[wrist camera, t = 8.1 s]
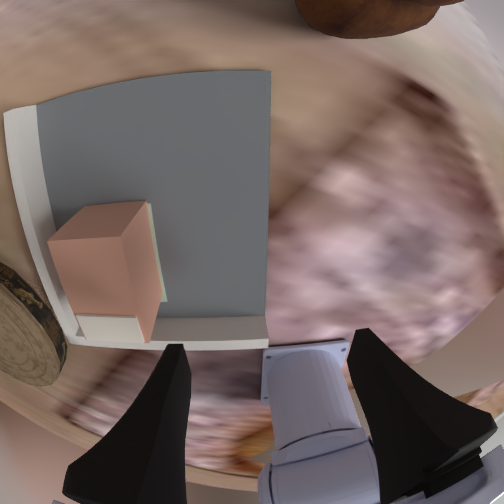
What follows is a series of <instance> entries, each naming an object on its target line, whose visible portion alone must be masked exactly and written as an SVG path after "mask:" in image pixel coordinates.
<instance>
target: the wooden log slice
mask: <svg viewBox="0 0 504 504" xmlns="http://www.w3.org/2000/svg"><path fill="white" fill-rule="evenodd" d="M66 352H67V344H66V341H65V338H64V334H63V331H62V328H61V327H60V325H59V323H58V322H57V320H56V318H55V316H54V315H53V313H52V311H51V309H50V308H49V307H48V306H47V304H46V303H45V302H44V301H43V299H42V298H41V297H40V296H39V294H38V293H37V292H36V291H35V289H34V288H33V287H32V286H31V285H30V284H28V283H27V282H26V281H25V280H24V279H23V278H22V277H21V276H20V275H19V274H18V273H17V272H16V271H14V270H13V269H11V268H10V267H8V266H7V265H5V264H3V263H2V262H0V370H2V371H4V372H5V373H7V374H8V375H10V376H11V377H13V378H15V379H18V380H20V381H22V382H25V383H27V384H31V385H37V386H46V385H51V384H53V382H54V381H55V380H56V379H57V378H58V376H59V374H60V371H61V369H62V367H63V364H64V362H65V360H66Z"/></svg>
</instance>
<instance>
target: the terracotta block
mask: <svg viewBox="0 0 504 504" xmlns="http://www.w3.org/2000/svg"><path fill="white" fill-rule="evenodd" d="M47 243H48V246H49V249H50V253H51V256H52V259H53V262H54V265H55V268H56V270H57V273H58V276H59V279H60V281H61V284H62V287H63V289H64V292H65V294H66V297H67V299H68V302H69V304H70V306H71V309H72V311H73V313H74V316H75V318H76V320H77V322H78V325H79V327H80V329H81V331H82V333H83V335H84V337H85V339H86V340H95V341H109V342H126V343H150V339H151V335H152V331H153V327H154V323H155V320H156V316H157V312H158V308H159V305H160V301H161V298H162V294H163V292H162V287H161V282H160V277H159V272H158V267H157V262H156V256H155V251H154V245H153V239H152V233H151V227H150V220H149V213H148V206H147V200H144V201H132V202H120V203H110V204H100V205H90V206H84V207H83V208H82V209H81V210H80V211H79V212H77V213H76V214H75V215H74V216H73V217H72V218H71V219H70V220H69V221H68V222H66V223H65V224H64V225H63V226H62V227H61V228H60V229H59V230H58V231H57V232H56V233H55V234H54V235H53V236H52V237H51V238H50V239H49V240H48V241H47Z"/></svg>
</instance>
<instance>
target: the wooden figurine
mask: <svg viewBox="0 0 504 504" xmlns="http://www.w3.org/2000/svg"><path fill="white" fill-rule="evenodd" d="M462 1H464V0H295V3H296V6H297V8H298V11H299V13H300V14H301V15H302V16H303V17H304V19H305V20H306V21H307V22H308V24H309V25H311V26H312V27H314V28H316V29H317V30H319V31H321V32H322V33H324V34H326V35H330V36H335V37H339V38H345V39H368V38H376V37H386V36H393V35H397V34H401V33H404V32H407V31H410V30H414V29H417V28H419V27H421V26H424V25H426V24H427V23H428V22H429V21H430V20H431V19H432V18H433V17H434V16H435V14H436V12H437V11H438V9H439V7H440V6H445V5H451V4H455V3H458V2H462Z"/></svg>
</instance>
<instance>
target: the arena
mask: <svg viewBox="0 0 504 504" xmlns="http://www.w3.org/2000/svg"><path fill="white" fill-rule="evenodd" d="M270 107H271V71H257V70H232V71H206V72H192V73H180V74H171V75H162V76H155V77H148V78H141V79H135V80H129V81H124V82H119V83H114V84H109V85H104V86H100V87H96V88H92V89H88V90H84V91H80V92H76V93H73V94H69V95H66V96H62V97H59V98H56V99H53V100H50V101H46V102H44V103H41V104H38V105H33V106H27V107H21V108H15V109H12V110H10V111H7V112H5V113H3V115H4V128H5V138H6V147H7V154H8V161H9V167H10V173H11V178H12V183H13V188H14V193H15V198H16V202H17V206H18V210H19V214H20V218H21V222H22V225H23V229H24V232H25V235H26V239H27V242H28V245H29V248H30V251H31V254H32V257H33V260H34V263H35V266H36V268H37V271H38V274H39V276H40V279H41V282H42V284H43V287H44V289H45V291H46V294H47V296H48V299H49V301H50V303H51V305H52V308H53V310H54V312H55V314H56V316H57V318H58V321H59V323H60V325H61V327H62V329H63V331H64V333H65V335H66V337H67V339H68V341H69V342H70V344H76V345H86V346H97V347H110V348H125V349H144V350H165V348H166V346H167V345H168V344H183V345H184V349H185V350H239V349H260V348H268V341H269V338H268V332H267V326H266V320H265V299H266V272H267V242H268V208H269V166H270ZM144 200H147V206H148V213H149V220H150V227H151V233H152V239H153V245H154V251H155V256H156V262H157V267H158V272H159V277H160V282H161V287H162V292H163V294H162V298H161V301H160V305H159V308H158V312H157V316H156V320H155V323H154V327H153V331H152V335H151V339H150V343H126V342H109V341H95V340H86V339H85V337H84V335H83V333H82V331H81V329H80V327H79V325H78V322H77V320H76V318H75V316H74V313H73V311H72V309H71V306H70V304H69V302H68V299H67V297H66V294H65V292H64V289H63V287H62V284H61V281H60V279H59V276H58V273H57V270H56V268H55V265H54V262H53V259H52V256H51V253H50V249H49V246H48V243H47V241H48V240H49V239H50V238H51V237H52V236H53V235H54V234H55V233H56V232H57V231H58V230H59V229H60V228H61V227H62V226H63V225H64V224H65V223H66V222H68V221H69V220H70V219H71V218H72V217H73V216H74V215H75V214H76V213H77V212H79V211H80V210H81V209H82V208H83V207H84V206H90V205H100V204H110V203H120V202H132V201H144Z"/></svg>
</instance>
